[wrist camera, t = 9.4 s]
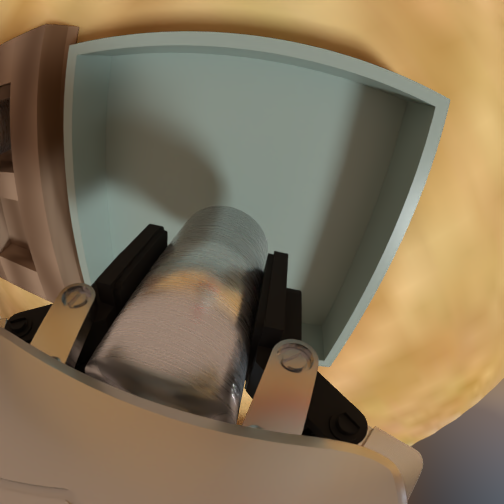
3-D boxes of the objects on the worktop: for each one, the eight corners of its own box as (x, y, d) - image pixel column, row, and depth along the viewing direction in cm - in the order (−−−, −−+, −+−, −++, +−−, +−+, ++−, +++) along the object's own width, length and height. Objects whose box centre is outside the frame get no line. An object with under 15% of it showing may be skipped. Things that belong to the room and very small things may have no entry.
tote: (414, 94, 10) (450, 99, 7) (326, 326, 19) (329, 367, 16) (110, 47, 11) (69, 45, 8) (115, 278, 20) (92, 310, 16)
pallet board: (78, 26, 10) (45, 24, 7) (90, 287, 21) (72, 311, 18) (-12, 62, 10) (-38, 68, 7) (10, 256, 21) (-7, 273, 18)
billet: (276, 216, 11) (248, 395, 5) (258, 291, 14) (226, 450, 7) (184, 197, 12) (65, 334, 5) (180, 272, 14) (105, 411, 7)
